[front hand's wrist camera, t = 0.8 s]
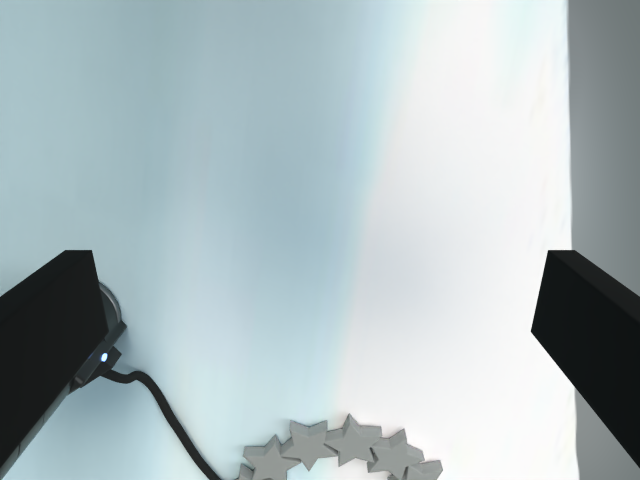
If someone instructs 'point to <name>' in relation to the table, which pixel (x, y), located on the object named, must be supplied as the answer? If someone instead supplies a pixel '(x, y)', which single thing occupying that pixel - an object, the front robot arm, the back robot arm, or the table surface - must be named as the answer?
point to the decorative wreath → (350, 444)
